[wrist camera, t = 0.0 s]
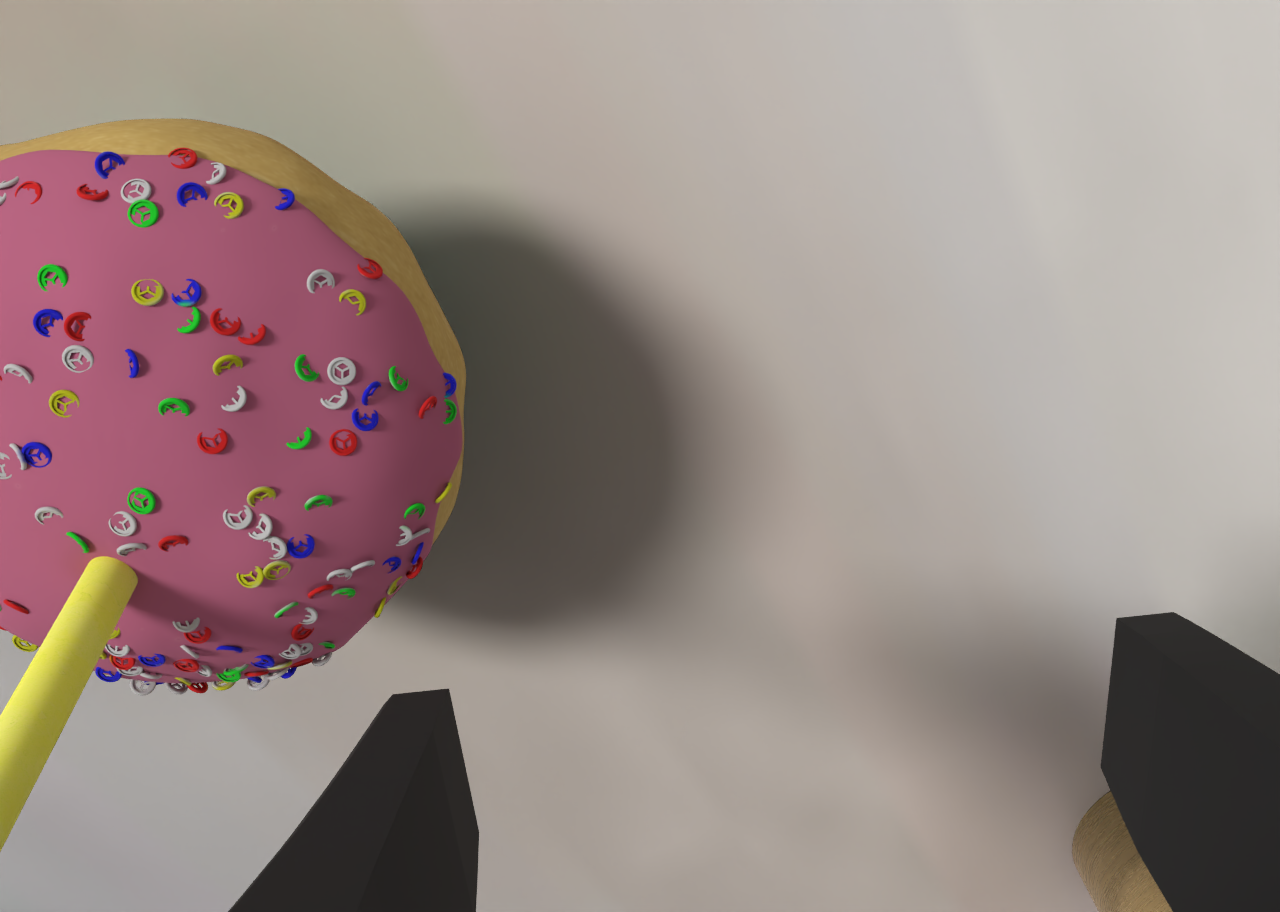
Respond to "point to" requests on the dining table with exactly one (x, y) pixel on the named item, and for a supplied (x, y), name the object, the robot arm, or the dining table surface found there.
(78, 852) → the dining table surface
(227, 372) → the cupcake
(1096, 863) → the cylinder
